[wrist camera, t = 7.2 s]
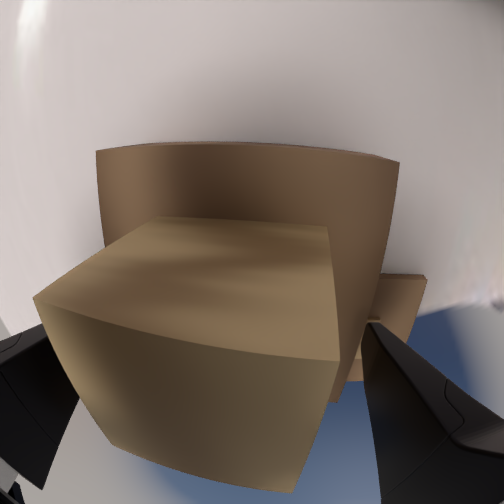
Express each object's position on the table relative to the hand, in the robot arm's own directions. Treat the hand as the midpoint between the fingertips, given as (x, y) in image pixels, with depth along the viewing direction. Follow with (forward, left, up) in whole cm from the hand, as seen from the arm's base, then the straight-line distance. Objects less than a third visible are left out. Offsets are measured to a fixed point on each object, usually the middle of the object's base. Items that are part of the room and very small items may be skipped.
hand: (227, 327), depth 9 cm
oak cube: (0, 0, -2) cm, 2 cm away
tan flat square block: (0, 0, -6) cm, 6 cm away
